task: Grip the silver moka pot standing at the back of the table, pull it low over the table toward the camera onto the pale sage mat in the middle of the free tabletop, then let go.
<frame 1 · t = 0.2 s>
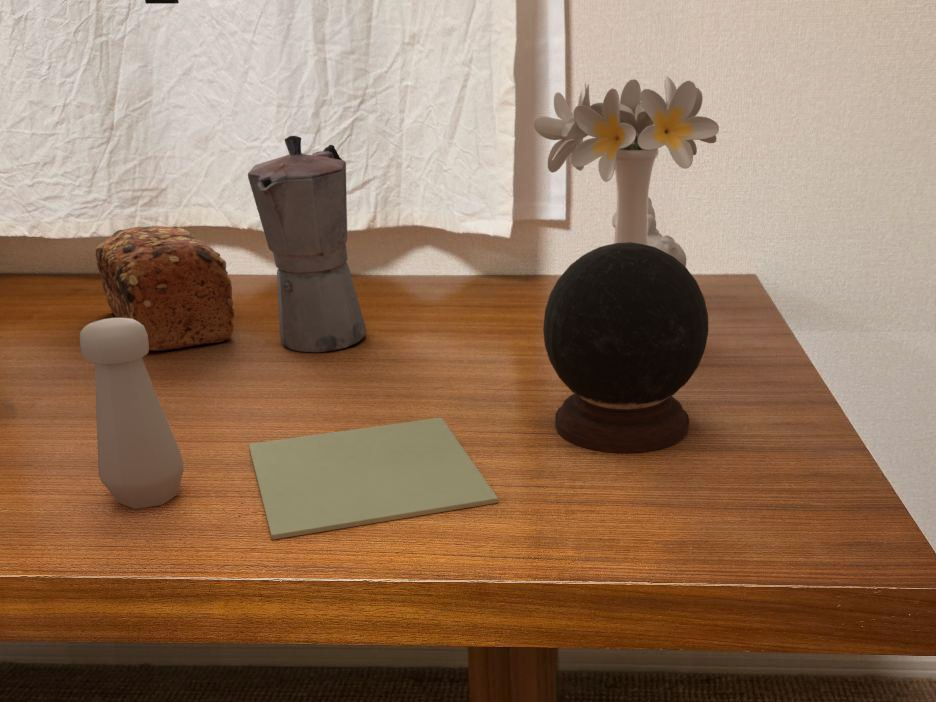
hand: (197, 1, 94), 31 cm above the table, tool pointing down, fingers open, 13 cm apart
moka pot: (323, 339, 105), on the table
dog figurine: (643, 296, 119), on the table
bread: (170, 327, 109), on the table
black ball on stand: (621, 427, 85), on the table
flower vase: (619, 347, 103), on the table
salt shaker: (148, 498, 74), on the table
centre mat: (366, 474, 77), on the table
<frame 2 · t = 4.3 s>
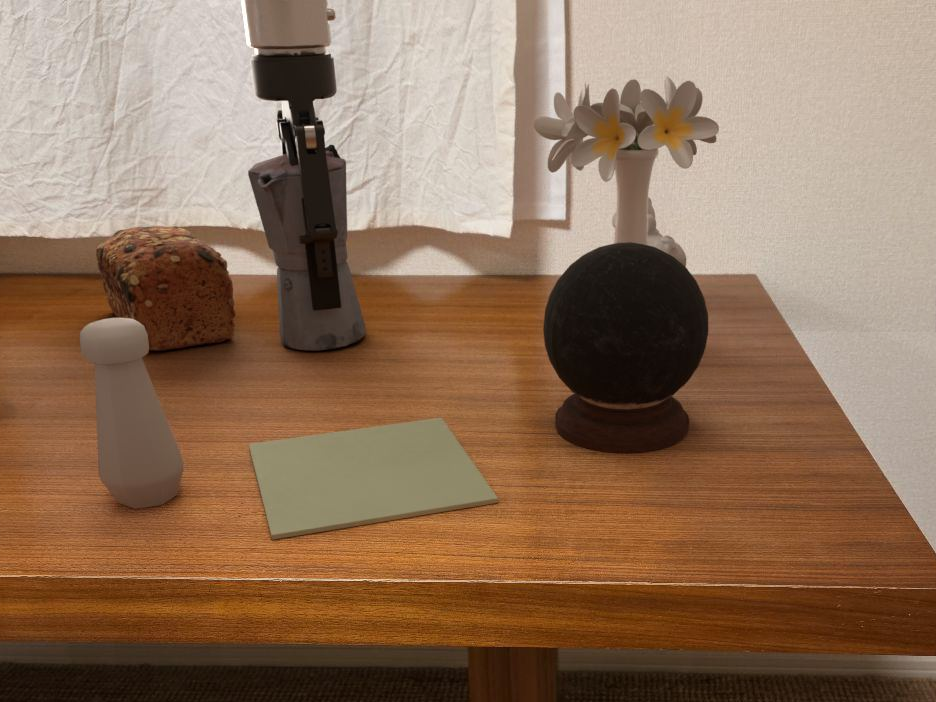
hand: (319, 295, 103), 5 cm above the table, tool pointing down, fingers closed on moka pot, 9 cm apart
moka pot: (323, 339, 105), on the table, touching gripper
everything else where it was.
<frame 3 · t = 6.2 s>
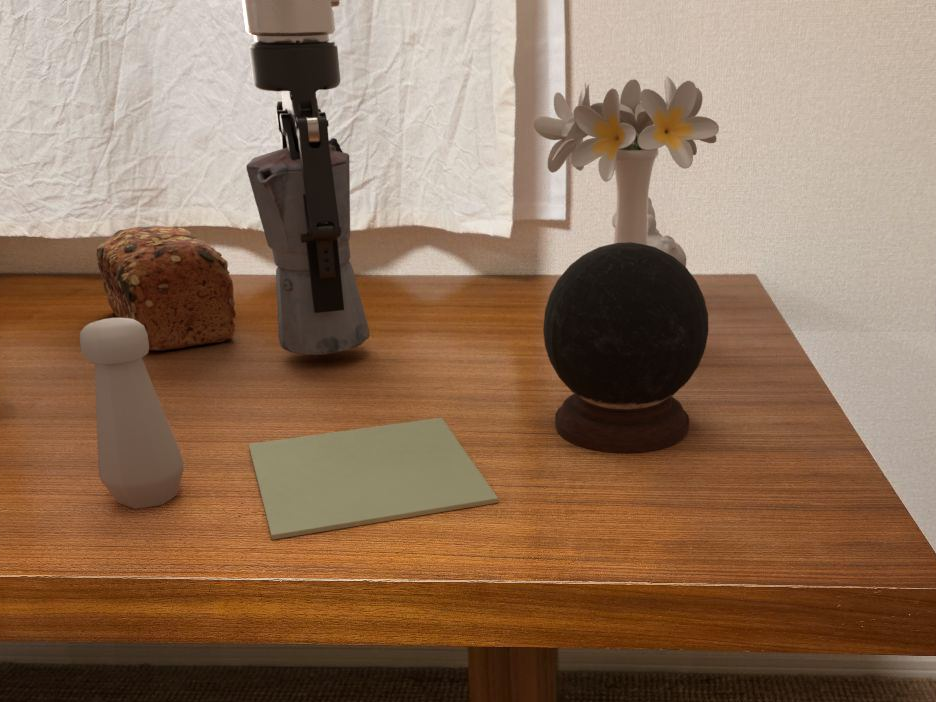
hand: (320, 296, 98), 6 cm above the table, tool pointing down, fingers closed on moka pot, 9 cm apart
moka pot: (324, 342, 100), point 1 cm above the table, touching gripper
everything else where it was.
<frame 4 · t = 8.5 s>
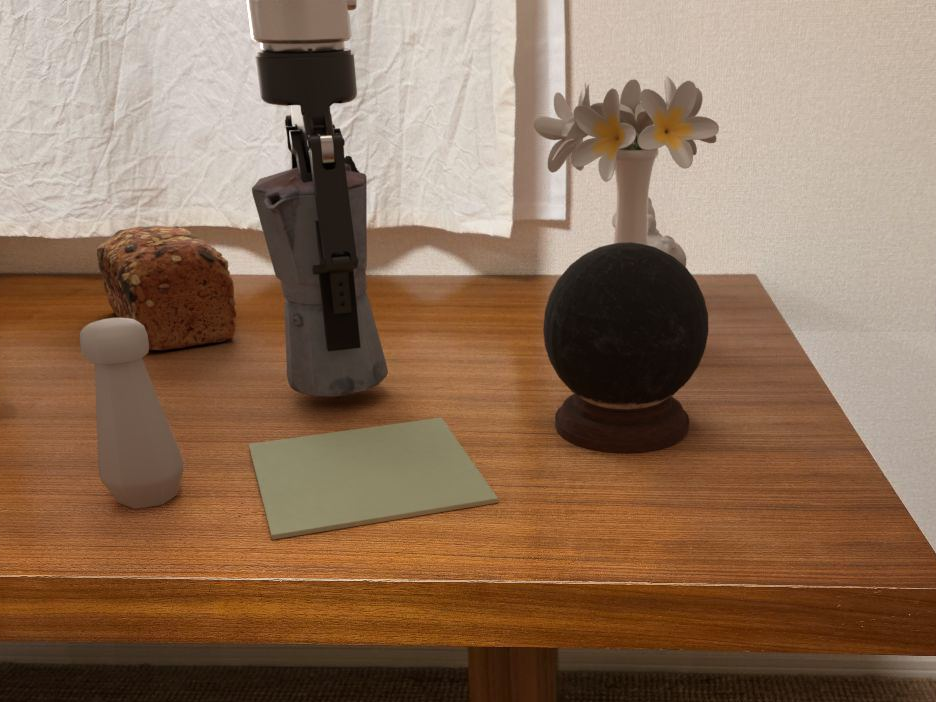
hand: (333, 331, 88), 6 cm above the table, tool pointing down, fingers closed on moka pot, 9 cm apart
moka pot: (337, 381, 91), point 1 cm above the table, touching gripper
everything else where it was.
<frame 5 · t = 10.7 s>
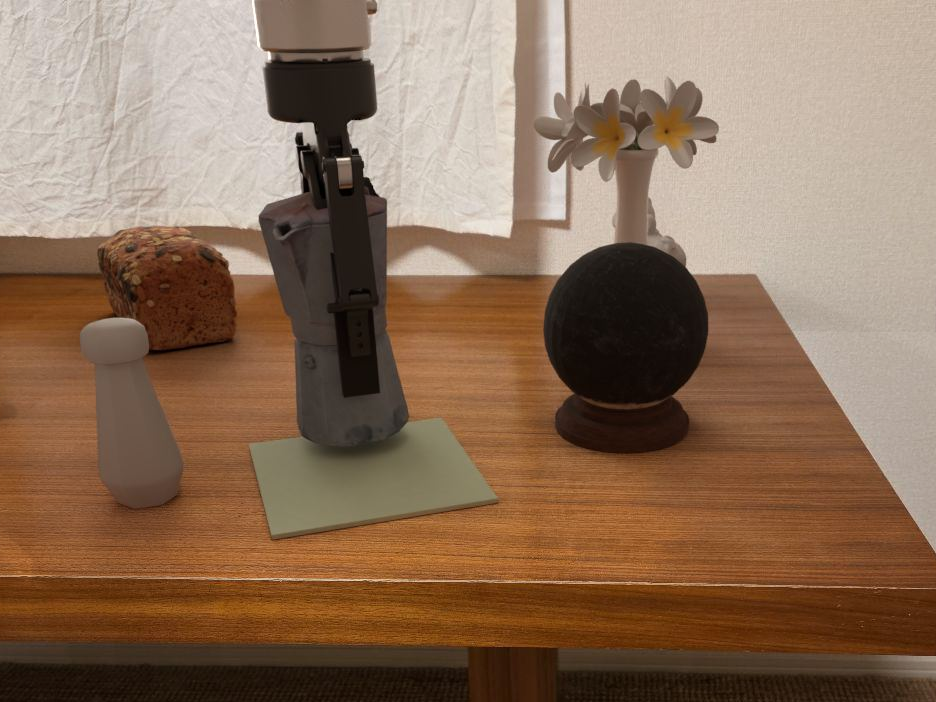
hand: (349, 372, 79), 6 cm above the table, tool pointing down, fingers closed on moka pot, 9 cm apart
moka pot: (353, 426, 82), point 1 cm above the table, touching gripper
everything else where it was.
when the fingers open (5 cm above the table, at t = 12.8 s): moka pot stays where it is, resting on centre mat.
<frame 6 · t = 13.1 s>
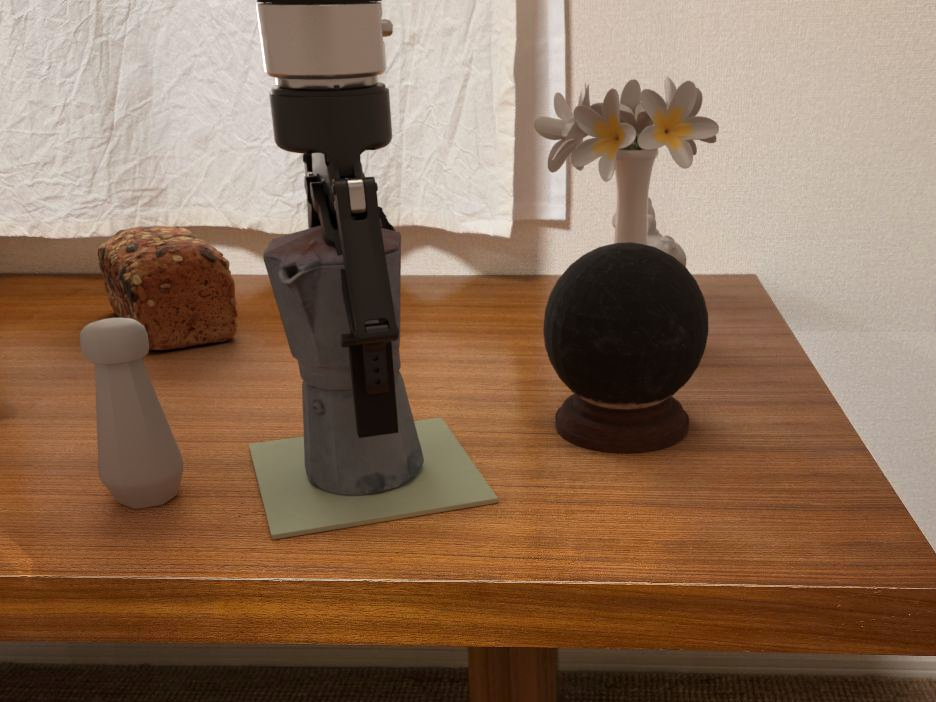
hand: (359, 399, 74), 6 cm above the table, tool pointing down, fingers open, 13 cm apart
moka pot: (364, 470, 77), resting on centre mat
everything else where it was.
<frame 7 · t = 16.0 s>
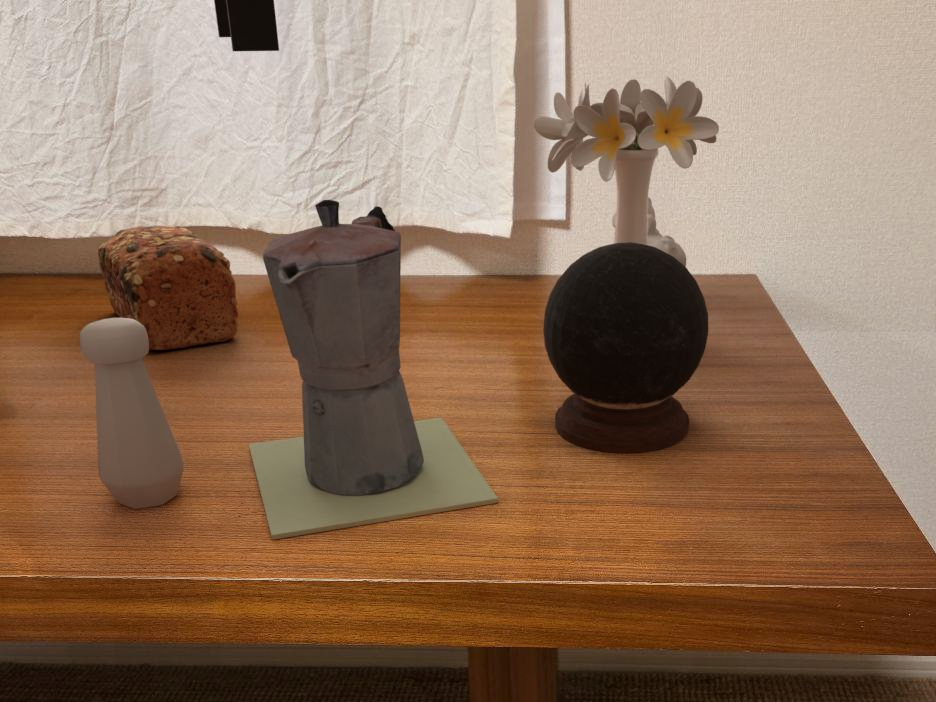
hand: (246, 44, 67), 29 cm above the table, tool pointing down, fingers open, 13 cm apart
nothing on the table moved.
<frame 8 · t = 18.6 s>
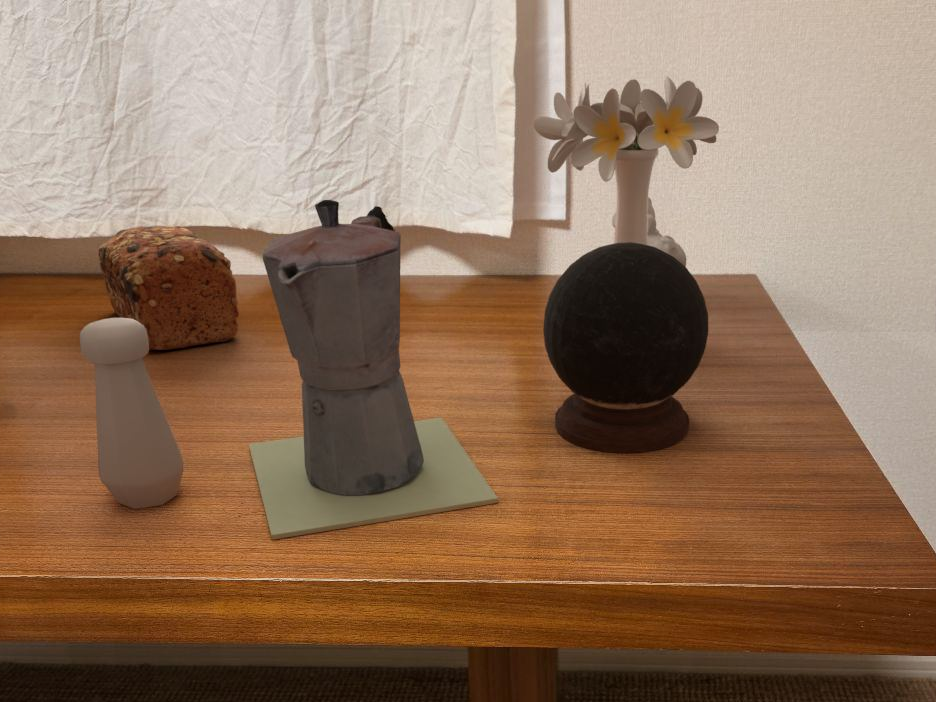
nothing on the table moved.
at the end: moka pot inside the target area on the centre mat (0.2 cm from its centre), point 0.2 cm above the centre mat's base; moka pot tilted 0°; the gripper is holding nothing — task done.
